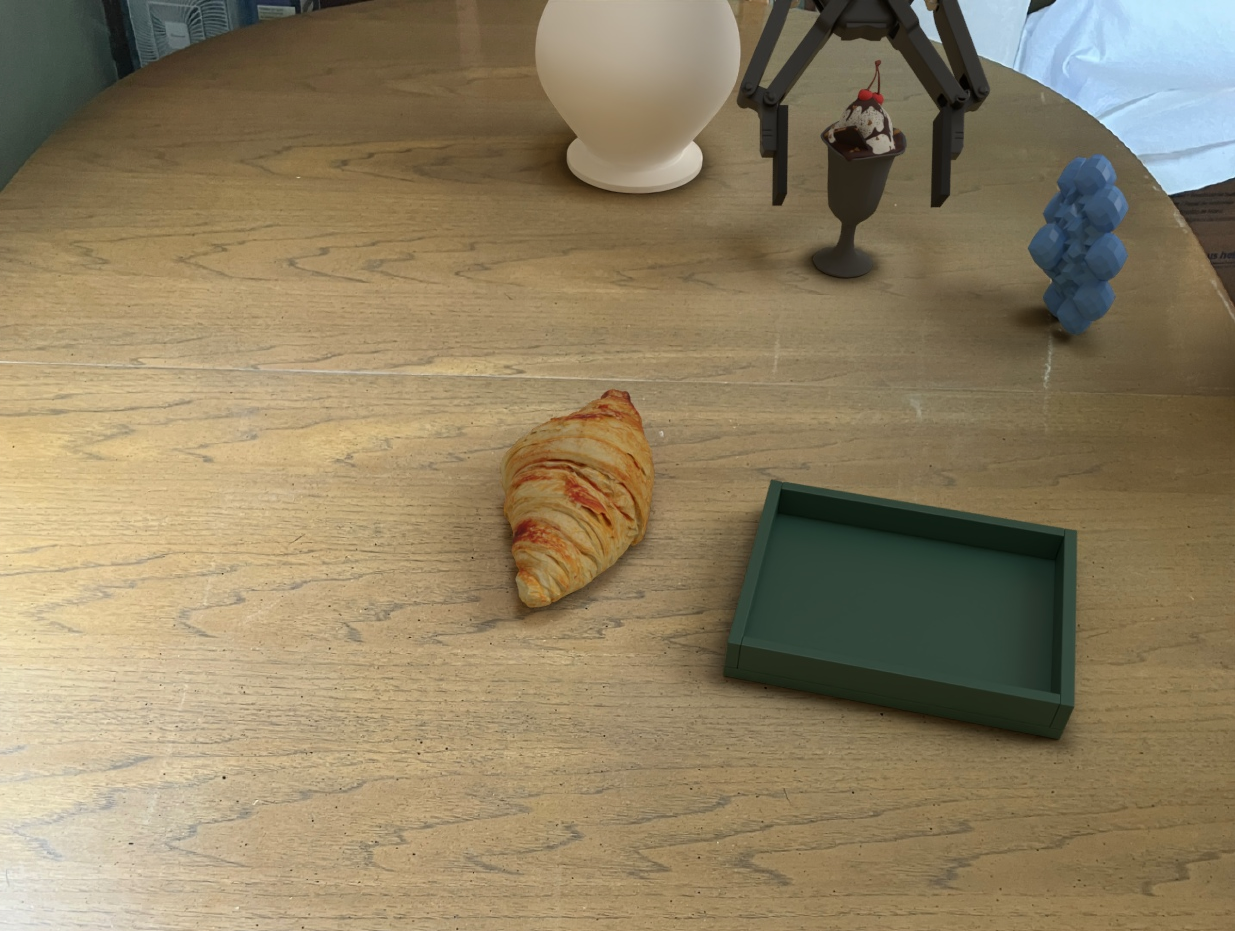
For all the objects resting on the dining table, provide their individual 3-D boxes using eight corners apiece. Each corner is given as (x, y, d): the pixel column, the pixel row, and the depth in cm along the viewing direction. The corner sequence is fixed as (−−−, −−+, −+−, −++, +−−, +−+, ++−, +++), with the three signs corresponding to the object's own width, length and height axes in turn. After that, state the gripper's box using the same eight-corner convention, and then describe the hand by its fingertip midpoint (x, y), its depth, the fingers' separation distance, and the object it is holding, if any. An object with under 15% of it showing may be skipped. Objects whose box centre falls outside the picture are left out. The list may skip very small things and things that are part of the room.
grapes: (983, 281, 102) (1024, 130, 92) (1062, 277, 102) (1109, 127, 93) (1030, 360, 95) (1079, 205, 85) (1114, 355, 95) (1172, 201, 86)
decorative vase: (499, 155, 114) (481, -178, 95) (639, 102, 122) (649, -216, 102) (628, 228, 106) (638, -119, 87) (770, 166, 114) (808, -165, 94)
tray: (1064, 563, 80) (1077, 530, 78) (1059, 739, 70) (1075, 706, 68) (765, 513, 82) (770, 478, 80) (722, 675, 73) (726, 642, 71)
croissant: (578, 670, 78) (639, 599, 71) (436, 591, 75) (487, 510, 69) (651, 464, 90) (708, 389, 84) (532, 390, 88) (582, 307, 82)
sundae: (860, 237, 106) (894, 47, 94) (895, 276, 102) (935, 82, 90) (790, 248, 105) (815, 56, 93) (823, 288, 101) (853, 93, 89)
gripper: (1005, -64, 98) (996, 218, 101) (703, -68, 98) (701, 215, 100) (1040, -122, 91) (1030, 184, 93) (713, -128, 90) (711, 180, 93)
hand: (860, 200), depth 97 cm, fingers open, 12 cm apart
